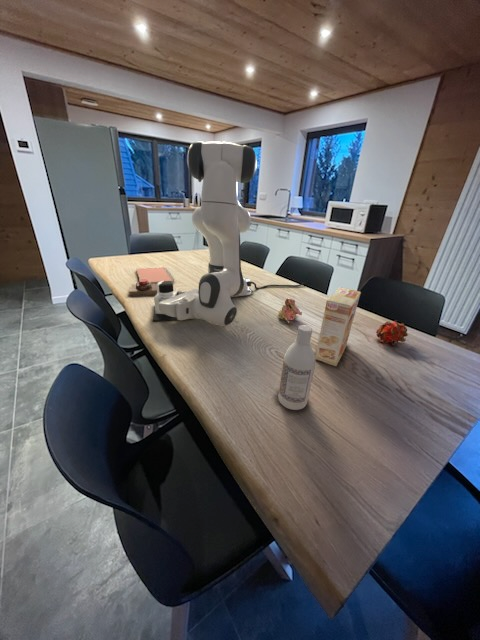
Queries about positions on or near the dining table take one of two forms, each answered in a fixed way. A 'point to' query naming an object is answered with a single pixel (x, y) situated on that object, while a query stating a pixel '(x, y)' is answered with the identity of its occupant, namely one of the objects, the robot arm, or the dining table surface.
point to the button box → (143, 289)
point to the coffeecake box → (336, 325)
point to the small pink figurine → (289, 310)
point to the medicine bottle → (163, 293)
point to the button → (143, 282)
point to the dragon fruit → (392, 332)
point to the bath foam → (297, 371)
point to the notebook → (154, 275)
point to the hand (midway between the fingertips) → (169, 296)
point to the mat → (162, 317)
